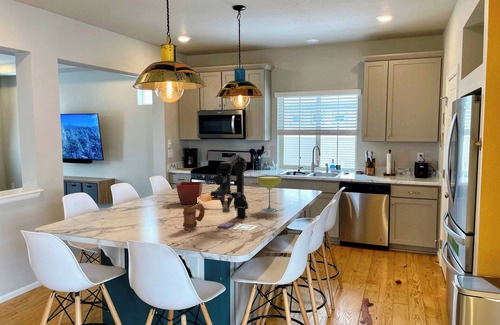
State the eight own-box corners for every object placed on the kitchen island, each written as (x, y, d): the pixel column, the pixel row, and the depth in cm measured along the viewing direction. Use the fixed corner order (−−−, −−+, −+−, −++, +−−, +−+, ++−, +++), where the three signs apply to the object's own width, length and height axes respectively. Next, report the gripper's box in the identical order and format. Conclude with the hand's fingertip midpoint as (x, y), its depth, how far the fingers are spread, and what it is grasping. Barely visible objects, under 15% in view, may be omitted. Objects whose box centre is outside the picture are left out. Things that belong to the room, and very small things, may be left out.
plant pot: (200, 205, 297) (199, 184, 296) (176, 205, 297) (175, 185, 296) (203, 201, 316) (203, 181, 315) (181, 201, 316) (180, 182, 315)
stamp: (224, 210, 231) (224, 199, 230) (230, 211, 229) (230, 200, 228) (221, 212, 227) (221, 201, 226) (227, 212, 225) (227, 201, 224)
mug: (185, 232, 217) (185, 206, 216) (179, 229, 223) (179, 204, 222) (207, 228, 225) (207, 203, 224) (201, 225, 232) (200, 201, 231)
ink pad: (225, 224, 235) (225, 222, 235) (234, 225, 232) (234, 223, 232) (217, 227, 226) (217, 225, 225) (227, 228, 223) (227, 226, 223)
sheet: (240, 224, 233) (240, 223, 233) (258, 226, 229) (258, 225, 229) (232, 228, 223) (232, 228, 223) (250, 230, 218) (250, 230, 218)
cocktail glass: (268, 213, 264) (268, 179, 262) (252, 209, 278) (252, 176, 276) (286, 210, 275) (286, 176, 274) (270, 206, 289) (269, 174, 287)
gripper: (205, 183, 223) (206, 209, 224) (233, 185, 215) (233, 211, 217) (214, 181, 233) (215, 206, 234) (241, 182, 225) (241, 208, 227)
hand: (226, 207), depth 228 cm, fingers closed on stamp, 3 cm apart
